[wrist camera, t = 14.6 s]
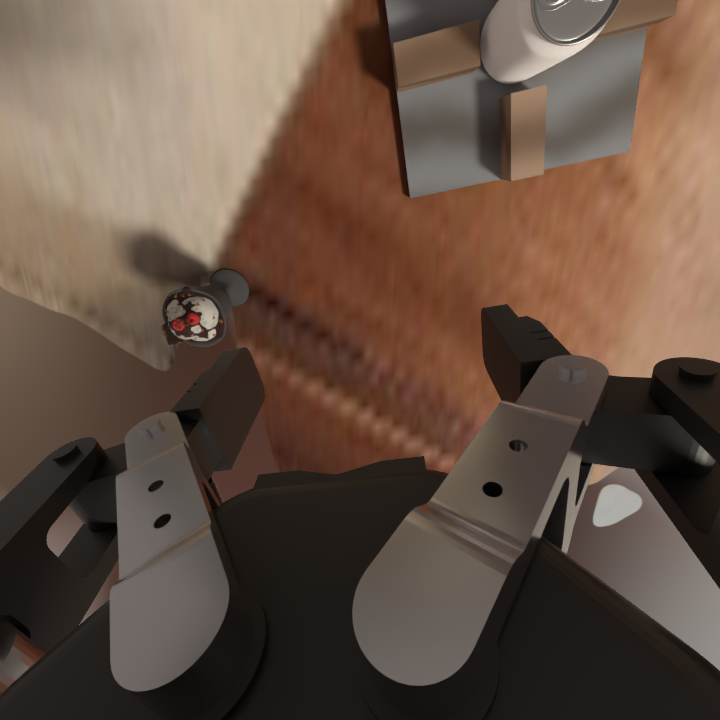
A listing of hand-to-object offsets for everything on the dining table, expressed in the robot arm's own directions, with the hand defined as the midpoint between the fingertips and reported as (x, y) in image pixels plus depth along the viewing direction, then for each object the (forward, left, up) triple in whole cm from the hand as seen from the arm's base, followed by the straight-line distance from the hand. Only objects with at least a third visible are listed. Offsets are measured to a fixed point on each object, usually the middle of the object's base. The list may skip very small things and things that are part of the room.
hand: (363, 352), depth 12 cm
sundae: (+5, -20, -33) cm, 39 cm away
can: (-12, +15, -32) cm, 38 cm away
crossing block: (-12, +15, -33) cm, 38 cm away
